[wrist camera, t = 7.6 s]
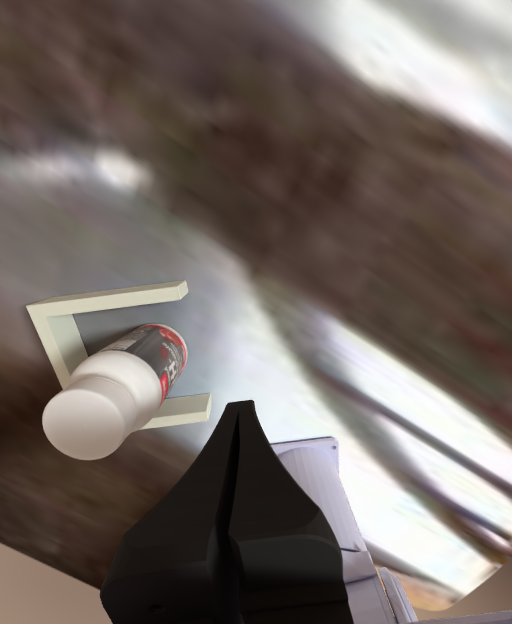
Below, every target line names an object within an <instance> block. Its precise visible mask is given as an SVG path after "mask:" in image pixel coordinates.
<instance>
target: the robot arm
mask: <svg viewBox="0 0 512 624" xmlns="http://www.w3.org/2000/svg"><path fill="white" fill-rule="evenodd" d="M378 570H379V573H380V576H381V578H382V581H383V584H384V586H385V589H386V590H385V591H386V594H387V597H388V600H389V602H390V605H391V608H392V610H393V613H394V615H395V617H394V616H393V614H392V611H391V608H390V606H389V603H388V600H387V598H386V595H385V593H384V590H383V587H382V585H381V582H380V580H379V577H378V574H377V572H376V569H375V567H374V564H373V561H372V559H371V556H370V553H369V552H368V551H367V549H366V546H365V543H364V541H363V538H362V535H361V533H360V530H359V528H358V525H357V522H356V520H355V517H354V514H353V512H352V509H351V506H350V504H349V501H348V498H347V496H346V493H345V490H344V488H343V485H342V483H341V480H340V477H339V451H338V441H337V439H336V438H334V437H332V438H324V439H315V440H307V441H299V442H291V443H283V444H275V445H270V443H269V441H268V439H267V438H266V436H265V434H264V432H263V429H262V427H261V425H260V423H259V420H258V417H257V414H256V411H255V405H254V401H253V400H246V401H238V402H230V403H228V404H227V405H226V408H225V410H224V412H223V414H222V416H221V418H220V420H219V422H218V424H217V426H216V428H215V430H214V431H213V433H212V435H211V437H210V438H209V440H208V441H207V443H206V445H205V446H204V448H203V449H202V451H201V452H200V454H199V455H198V457H197V458H196V460H195V461H194V462H193V464H192V465H191V466H190V468H189V469H188V470H187V471H186V473H185V474H184V475H183V476H182V478H181V479H180V480H179V481H178V482H177V484H176V485H175V486H174V487H173V488H172V489H171V490H170V491H169V492H168V493H167V494H166V496H165V497H164V498H163V499H162V500H161V501H160V502H159V503H158V504H157V505H156V506H155V507H154V508H153V509H152V510H151V511H150V512H149V513H148V514H146V515H145V516H144V517H143V518H142V519H141V520H140V521H139V522H138V523H136V524H135V525H134V526H133V527H132V528H131V529H130V530H128V531H127V532H126V533H125V535H124V538H123V540H122V541H121V543H120V545H119V547H118V549H117V551H116V553H115V556H114V558H113V560H112V563H111V565H110V568H109V570H108V572H107V575H106V577H105V580H104V582H103V584H102V587H101V590H100V598H101V601H102V605H103V607H104V609H105V611H106V612H107V614H108V616H109V618H110V619H111V621H112V623H113V624H512V610H508V611H500V612H491V613H482V614H474V615H465V616H457V617H448V618H440V619H431V620H423V621H418V619H417V617H416V615H415V613H414V611H413V608H412V606H411V604H410V602H409V599H408V597H407V595H406V593H405V591H404V589H403V587H402V585H401V583H400V581H399V579H398V578H397V577H396V576H395V575H393V574H392V573H389V571H388V569H387V568H386V567H383V568H380V569H378Z"/></svg>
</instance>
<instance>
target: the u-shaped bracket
mask: <svg viewBox="0 0 512 624" xmlns="http://www.w3.org/2000/svg"><path fill="white" fill-rule="evenodd" d="M187 293H188V288H187V283H186V280H183V281H175V282H167V283H160V284H152V285H144V286H136V287H129V288H121V289H113V290H105V291H98V292H90V293H82V294H75V295H67V296H59V297H52V298H49V299H46V300H43V301H40V302H37V303H34V304H30V305H27V306H26V307H27V310H28V312H29V314H30V316H31V319H32V321H33V323H34V325H35V328H36V330H37V332H38V334H39V337H40V339H41V341H42V343H43V346H44V348H45V350H46V353H47V355H48V357H49V359H50V362H51V364H52V366H53V368H54V371H55V373H56V375H57V377H58V380H59V382H60V384H61V386H62V389H63V390H64V389H65V388H66V387H68V383H69V380H70V377H71V375H72V373H73V372H74V370H75V369H76V368H77V367H78V366H79V364H81V363H82V362H83V361H84V360H86V359H87V358H88V355H87V352H86V349H85V347H84V344H83V342H82V339H81V336H80V334H79V331H78V329H77V326H76V323H75V321H74V318H73V316H72V314H74V313H82V312H90V311H97V310H105V309H113V308H121V307H128V306H136V305H144V304H152V303H159V302H167V301H175V300H181V299H182V298H183V297H184V296H185V295H186V294H187ZM211 405H212V398H211V394H210V393H207V394H199V395H191V396H184V397H176V398H168V399H164V401H163V403H162V404H161V406H160V408H159V409H158V411H157V412H156V414H155V415H154V417H153V418H152V419H151V420H150V421H149V422H148V423H147V424H146V425H145V426H143V427H142V428H140V429H147V428H155V427H163V426H171V425H179V424H187V423H195V422H203V421H208V420H209V415H210V410H211ZM138 430H139V429H138Z"/></svg>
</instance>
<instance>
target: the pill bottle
mask: <svg viewBox="0 0 512 624" xmlns="http://www.w3.org/2000/svg"><path fill="white" fill-rule="evenodd" d="M187 356H188V352H187V347H186V344H185V342H184V340H183V338H182V337H181V336H180V334H179V333H178V332H176V331H175V330H174V329H172V328H170V327H169V326H166V325H163V324H156V323H155V324H153V323H152V324H146V325H143V326H141V327H139V328H137V329H135V330H133V331H131V332H130V333H128V334H127V335H125V336H123V337H122V338H120V339H118V340H117V341H115V342H113V343H112V344H110V345H108V346H107V347H105V348H103V349H102V350H100V351H99V352H97V353H95V354H93V355H91V356H90V357H88V358H87V359H86V360H84V361H83V362H82V363H81V364H79V366H78V367H77V368H76V369H75V370H74V372H73V373H72V375H71V377H70V380H69V383H68V387H66V388H65V389H64V390H62V391H61V392H60V393H58V394H57V395H56V396H54V397H53V398H52V399H51V400H50V401H49V403H48V404H47V405H46V407H45V409H44V412H43V416H42V425H43V429H44V432H45V434H46V436H47V438H48V440H49V441H50V442H51V443H52V445H54V446H55V447H56V448H57V449H58V450H59V451H61V452H62V453H64V454H66V455H68V456H70V457H73V458H76V459H81V460H95V459H100V458H103V457H106V456H108V455H110V454H111V453H113V452H114V451H115V450H116V449H117V448H118V447H119V446H120V445H121V443H122V442H123V441H124V439H125V438H126V437H127V436H128V435H129V434H130V433H131V432H134V431H136V430H138V429H140V428H142V427H143V426H145V425H146V424H147V423H148V422H149V421H150V420H151V419H152V418H153V417H154V415H155V414H156V412H157V411H158V409H159V408H160V406H161V404H162V403H163V401H164V399H165V398H166V396H167V395H168V393H169V391H170V390H171V388H172V386H173V385H174V383H175V381H176V380H177V378H178V377H179V375H180V373H181V372H182V370H183V369H184V367H185V364H186V362H187Z"/></svg>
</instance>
